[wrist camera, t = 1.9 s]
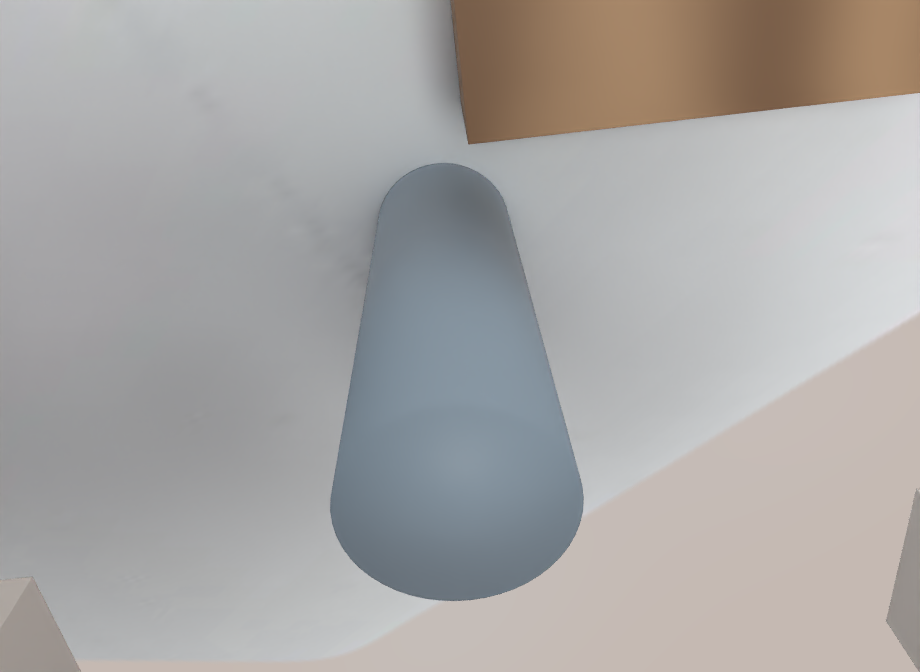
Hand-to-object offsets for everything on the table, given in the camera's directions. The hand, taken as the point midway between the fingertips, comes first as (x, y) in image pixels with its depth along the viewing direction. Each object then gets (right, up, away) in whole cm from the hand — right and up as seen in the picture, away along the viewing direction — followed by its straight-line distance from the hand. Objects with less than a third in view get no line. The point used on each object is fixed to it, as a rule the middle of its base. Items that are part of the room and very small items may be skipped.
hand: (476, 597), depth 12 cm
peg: (-1, +8, +14) cm, 16 cm away
